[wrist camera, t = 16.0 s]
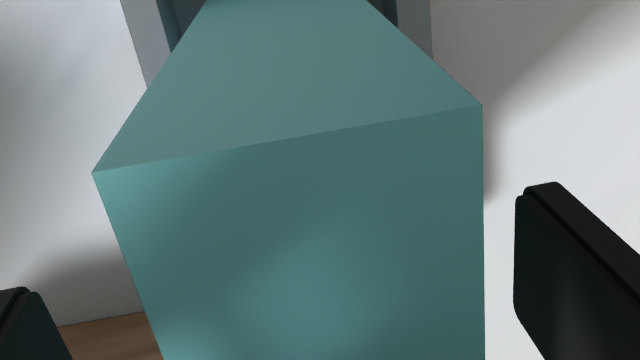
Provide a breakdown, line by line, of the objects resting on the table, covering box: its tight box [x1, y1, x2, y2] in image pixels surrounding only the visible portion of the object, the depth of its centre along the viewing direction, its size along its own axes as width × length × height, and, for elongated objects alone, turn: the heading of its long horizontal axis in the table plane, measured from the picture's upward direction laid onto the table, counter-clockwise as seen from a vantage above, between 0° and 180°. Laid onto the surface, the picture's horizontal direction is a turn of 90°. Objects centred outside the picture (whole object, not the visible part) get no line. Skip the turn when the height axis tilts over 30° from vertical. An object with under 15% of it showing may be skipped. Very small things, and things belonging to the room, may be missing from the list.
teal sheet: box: [91, 0, 485, 360], centre depth 14 cm, size 10×4×14 cm, turn 8°
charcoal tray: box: [120, 0, 433, 89], centre depth 19 cm, size 14×9×3 cm, turn 9°
